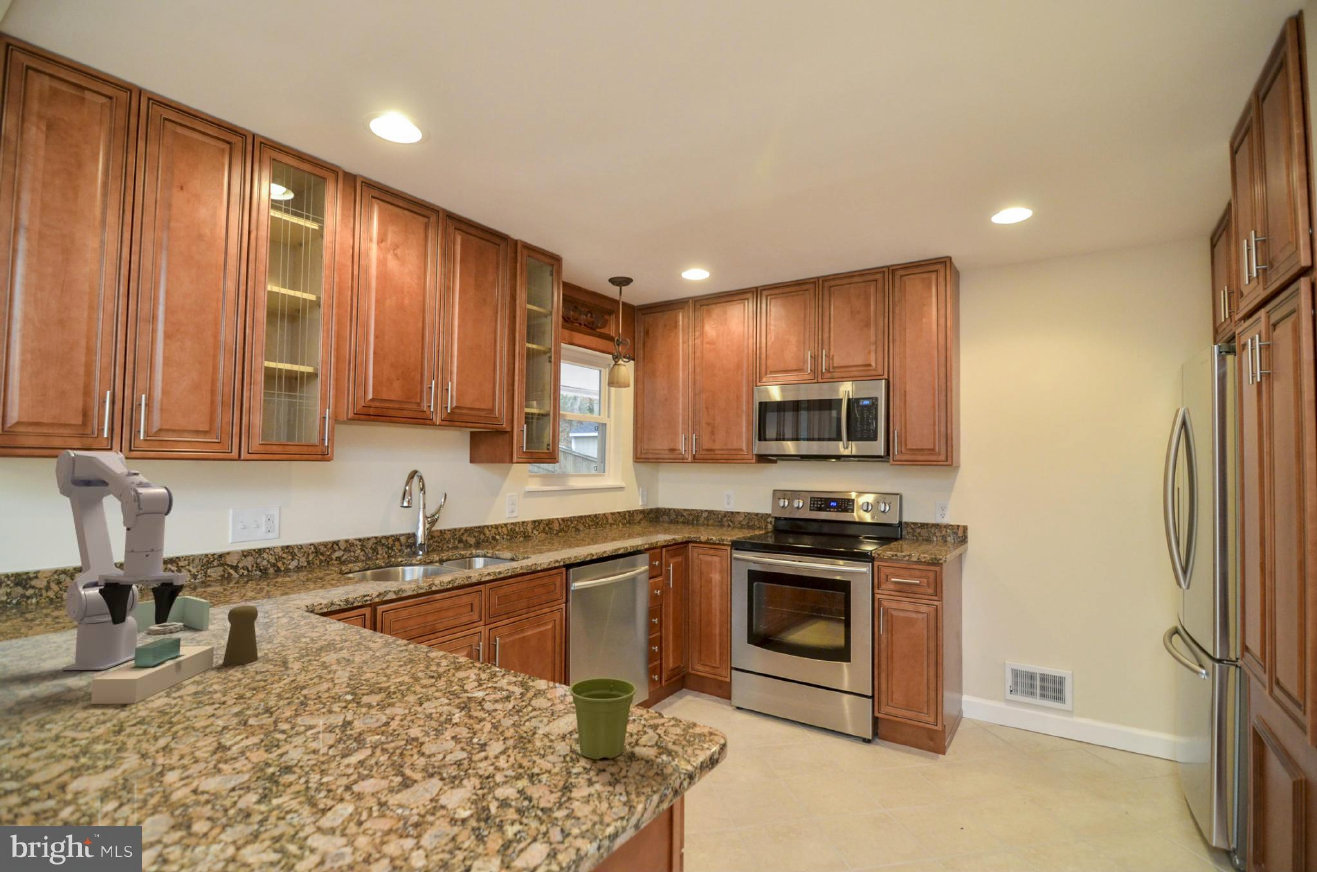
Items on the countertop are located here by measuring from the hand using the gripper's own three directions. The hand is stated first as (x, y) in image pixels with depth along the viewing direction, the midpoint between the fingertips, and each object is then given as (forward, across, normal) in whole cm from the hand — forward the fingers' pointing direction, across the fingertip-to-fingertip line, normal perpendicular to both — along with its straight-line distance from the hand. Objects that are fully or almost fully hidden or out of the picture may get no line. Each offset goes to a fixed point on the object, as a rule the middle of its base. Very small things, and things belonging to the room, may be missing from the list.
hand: (140, 623), depth 119 cm
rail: (+10, +6, -4) cm, 13 cm away
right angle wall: (+11, -18, +35) cm, 41 cm away
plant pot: (+10, +88, -35) cm, 95 cm away
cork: (+10, +13, +10) cm, 19 cm away
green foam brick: (+8, +6, -4) cm, 11 cm away
